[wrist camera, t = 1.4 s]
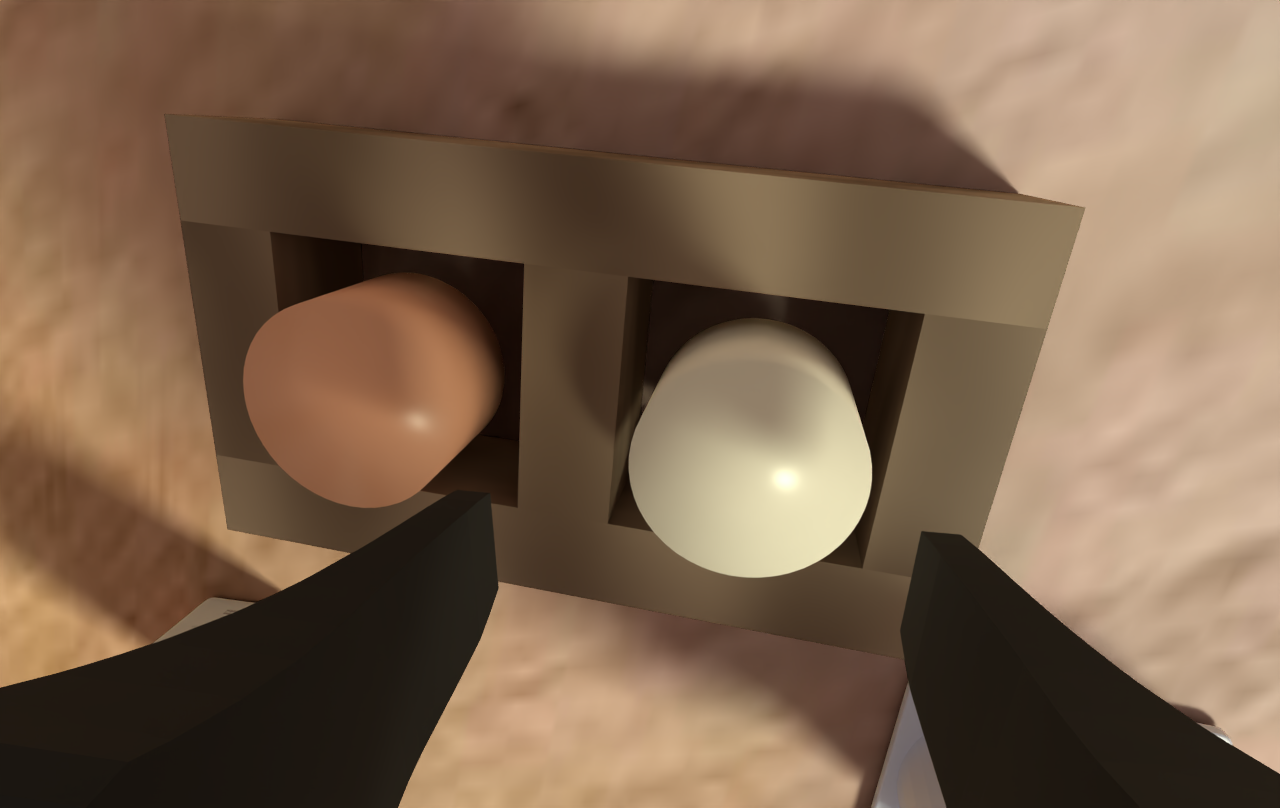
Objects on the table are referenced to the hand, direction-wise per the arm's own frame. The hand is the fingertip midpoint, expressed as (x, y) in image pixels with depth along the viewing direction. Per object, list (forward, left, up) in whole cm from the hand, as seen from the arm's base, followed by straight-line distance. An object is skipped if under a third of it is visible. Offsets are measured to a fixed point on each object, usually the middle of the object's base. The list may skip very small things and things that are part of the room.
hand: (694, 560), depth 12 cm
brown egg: (+8, 0, -7) cm, 11 cm away
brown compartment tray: (+4, 0, -10) cm, 10 cm away
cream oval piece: (-1, 0, -7) cm, 7 cm away
